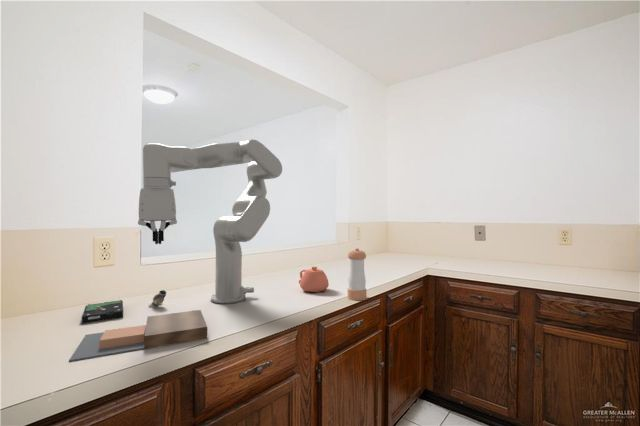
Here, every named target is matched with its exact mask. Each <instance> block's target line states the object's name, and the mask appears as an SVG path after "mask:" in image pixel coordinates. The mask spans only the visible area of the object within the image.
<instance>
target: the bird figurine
mask: <svg viewBox="0 0 640 426" xmlns="http://www.w3.org/2000/svg"><path fill="white" fill-rule="evenodd" d="M166 296H167V291H166V290H159V292H158V293H157V294H155V295H153V298H152V302H151V303H150V304H148V308H150V309H151V308H158V307H159V306H163V305H164V306H165V304H163V302H164V301H165V298H166Z"/></svg>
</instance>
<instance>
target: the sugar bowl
mask: <svg viewBox="0 0 640 426" xmlns="http://www.w3.org/2000/svg"><path fill="white" fill-rule="evenodd" d="M298 283H299V287H300V288H301V289H302V290H303V291H304V292H306V291H307V292H313V293H314V292H318V293H319V292H323V291H326V290H327V289H328V287H329V279H328V277H327V275H326V273H325V271H324V270H323V269H320V268H319V269H318V266H311V268H309V269H303V270H300V272H299V280H298Z"/></svg>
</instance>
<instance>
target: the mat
mask: <svg viewBox="0 0 640 426" xmlns="http://www.w3.org/2000/svg"><path fill="white" fill-rule="evenodd" d="M104 332H105V331H102V332H96V333H90V334H85V336H84V337H83V339H82V340H81V341H80V343H79V344H78V346H77V347H76V349H75V350H74V352H73V353H72V355H71V357H70V358H69V359H68V362H69V363H70V362H73V361H75V362H76V361H81V360H87V359H92V358H93V359H94V358H98V357H105V356H111V355H117V354H122V353H128V352H129V353H130V352H134V351H140V350H145V349H144V342H142V343H135V344H129V345H122V346H116V347H109V348H103V349H99V343H100V339H101V337H102V335H103V334H104Z"/></svg>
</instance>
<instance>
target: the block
mask: <svg viewBox="0 0 640 426" xmlns="http://www.w3.org/2000/svg"><path fill="white" fill-rule="evenodd" d="M145 329H146V324H145V325H135V326H128V327H121V328H113V329H105V330H104V331H103V332H104V334H103V335H102V337H101V339H100V343H99V349H103V348H109V347H116V346H122V345H129V344H135V343H142V342H144V336H145Z"/></svg>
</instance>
